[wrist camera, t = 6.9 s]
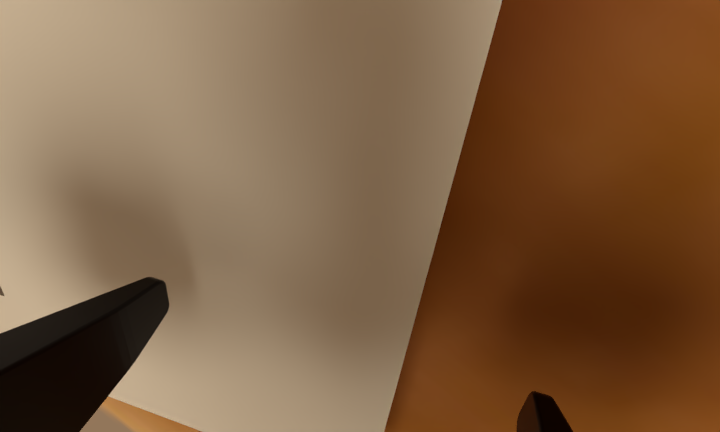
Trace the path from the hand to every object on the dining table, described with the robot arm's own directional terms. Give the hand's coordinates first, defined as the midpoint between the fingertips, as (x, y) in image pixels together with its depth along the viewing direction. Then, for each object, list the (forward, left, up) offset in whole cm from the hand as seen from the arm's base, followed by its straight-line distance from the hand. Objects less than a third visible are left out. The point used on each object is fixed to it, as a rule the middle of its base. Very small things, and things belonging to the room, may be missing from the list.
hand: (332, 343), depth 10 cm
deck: (0, +10, -3) cm, 11 cm away
